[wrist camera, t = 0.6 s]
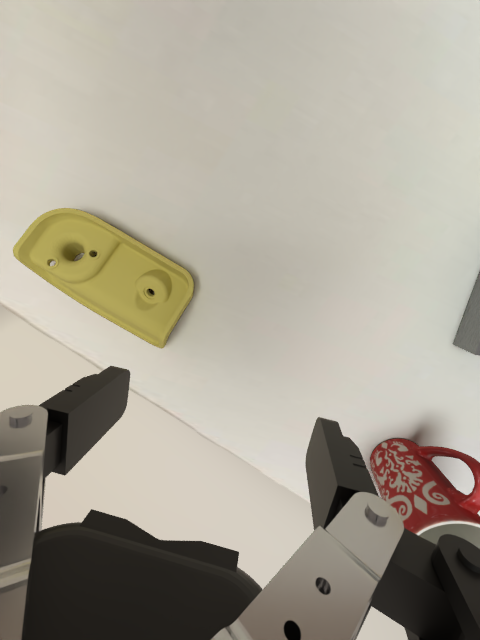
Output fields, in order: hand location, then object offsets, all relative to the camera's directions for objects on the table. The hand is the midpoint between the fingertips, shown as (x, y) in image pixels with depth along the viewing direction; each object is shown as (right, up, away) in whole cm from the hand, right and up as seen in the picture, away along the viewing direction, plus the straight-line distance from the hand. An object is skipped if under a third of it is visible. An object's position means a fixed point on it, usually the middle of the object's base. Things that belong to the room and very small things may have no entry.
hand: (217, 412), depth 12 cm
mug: (+24, -14, +28) cm, 39 cm away
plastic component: (-15, +10, +28) cm, 33 cm away
